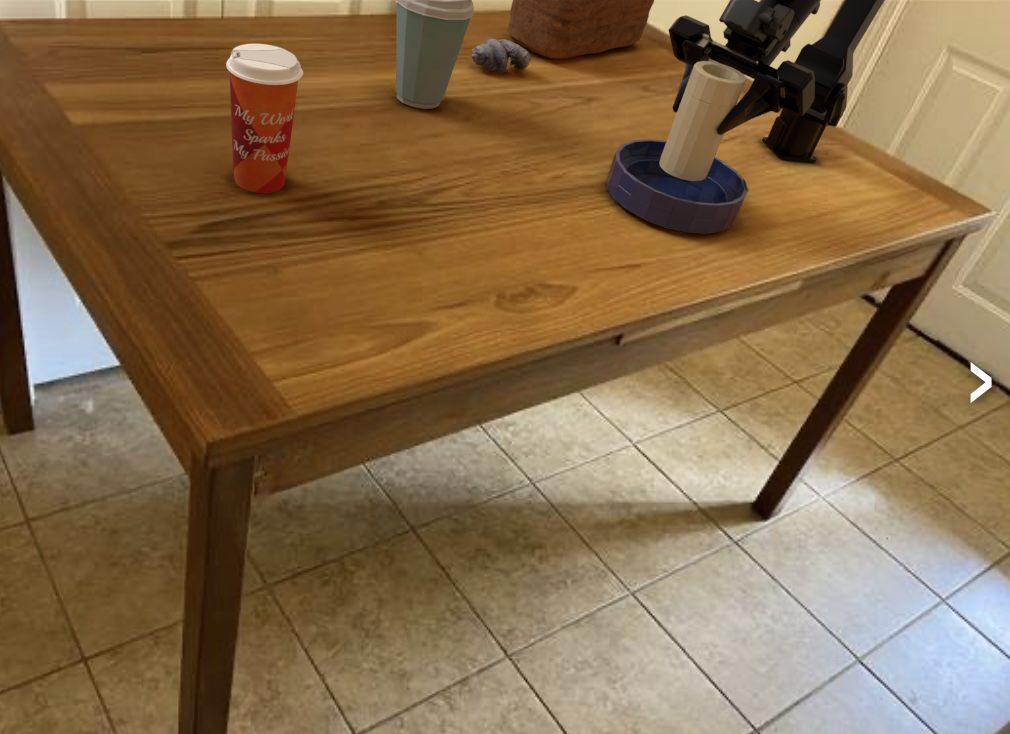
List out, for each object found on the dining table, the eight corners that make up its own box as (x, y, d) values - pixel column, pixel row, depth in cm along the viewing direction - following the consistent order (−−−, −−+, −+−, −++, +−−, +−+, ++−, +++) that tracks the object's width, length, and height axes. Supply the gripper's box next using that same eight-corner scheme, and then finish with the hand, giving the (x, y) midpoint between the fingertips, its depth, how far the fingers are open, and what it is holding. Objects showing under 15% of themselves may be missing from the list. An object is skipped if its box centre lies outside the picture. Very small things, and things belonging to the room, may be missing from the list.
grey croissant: (521, 77, 141) (466, 79, 137) (516, 42, 140) (461, 43, 136) (539, 67, 136) (483, 69, 132) (534, 31, 136) (478, 32, 131)
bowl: (701, 175, 122) (714, 145, 119) (755, 241, 110) (770, 209, 107) (588, 166, 118) (598, 134, 115) (631, 233, 106) (643, 200, 103)
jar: (678, 154, 114) (714, 58, 106) (715, 176, 111) (756, 79, 103) (649, 162, 111) (684, 64, 102) (686, 184, 108) (725, 85, 99)
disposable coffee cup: (371, 102, 120) (386, -14, 111) (393, 77, 128) (409, -33, 119) (445, 123, 120) (467, 8, 110) (463, 96, 128) (484, -13, 118)
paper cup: (227, 197, 95) (230, 68, 86) (221, 163, 100) (223, 38, 91) (299, 199, 98) (309, 74, 88) (290, 166, 103) (298, 44, 94)
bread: (491, 37, 149) (507, -40, 141) (591, 21, 166) (610, -50, 158) (552, 69, 143) (572, -10, 135) (649, 49, 160) (673, -23, 152)
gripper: (706, -59, 102) (621, 50, 103) (851, -2, 94) (758, 116, 94) (715, 5, 112) (638, 104, 113) (847, 62, 104) (763, 168, 104)
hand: (695, 121), depth 106 cm, fingers closed on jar, 6 cm apart
